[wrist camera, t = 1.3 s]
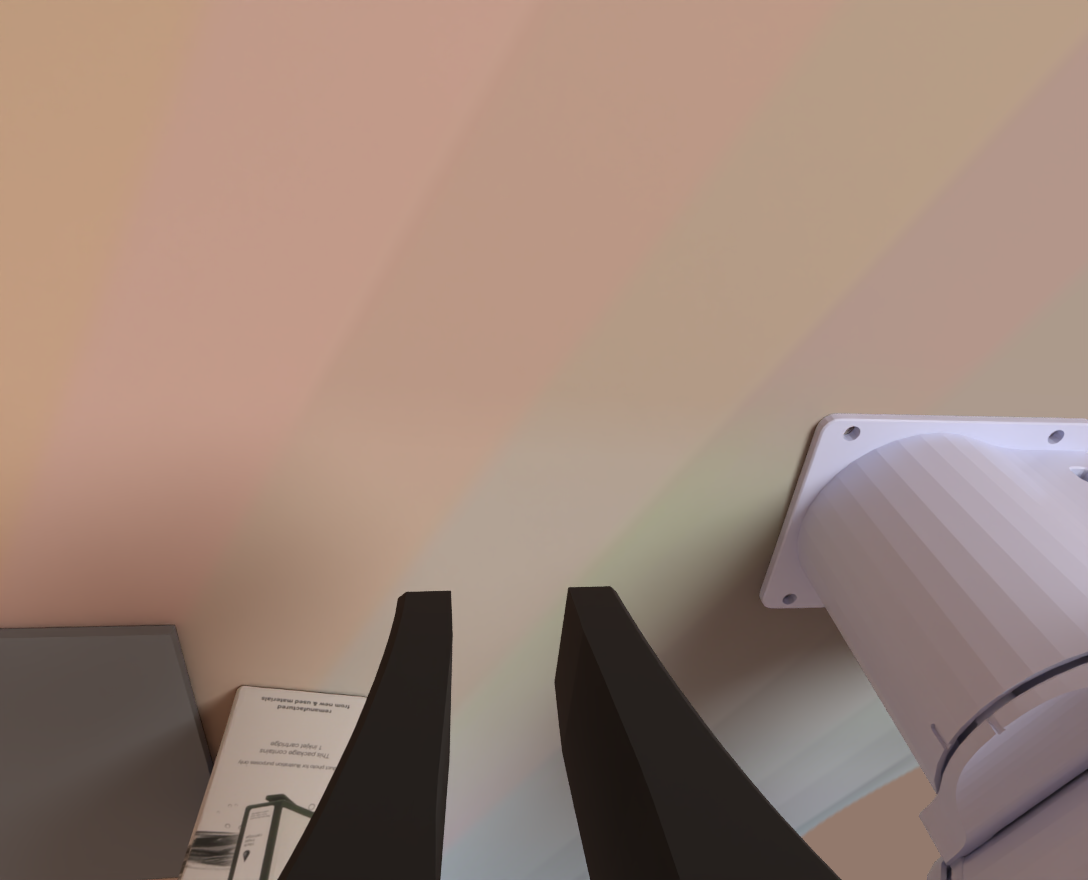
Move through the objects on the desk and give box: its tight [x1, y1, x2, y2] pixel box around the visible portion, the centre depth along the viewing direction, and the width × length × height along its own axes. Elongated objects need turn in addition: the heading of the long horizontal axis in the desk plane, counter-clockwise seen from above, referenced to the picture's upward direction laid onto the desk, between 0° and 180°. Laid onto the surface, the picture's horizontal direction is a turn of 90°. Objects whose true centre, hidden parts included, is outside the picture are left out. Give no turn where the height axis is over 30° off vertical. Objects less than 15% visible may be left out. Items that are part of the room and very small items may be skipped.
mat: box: [0, 625, 213, 880], centre depth 26 cm, size 13×15×1 cm
